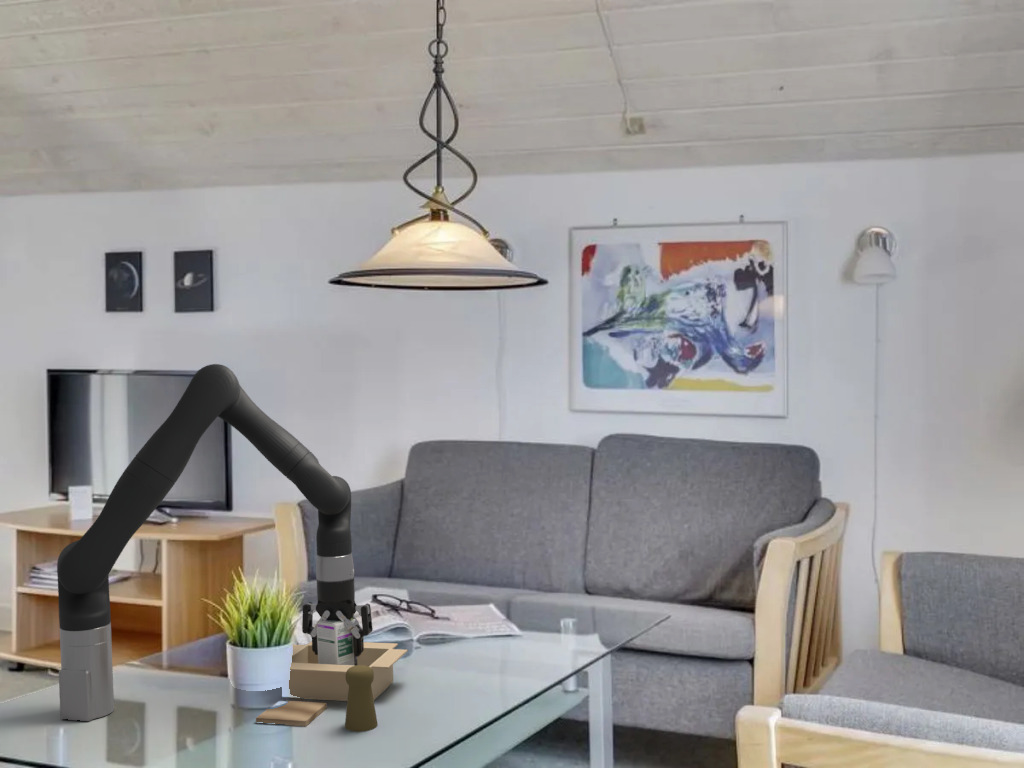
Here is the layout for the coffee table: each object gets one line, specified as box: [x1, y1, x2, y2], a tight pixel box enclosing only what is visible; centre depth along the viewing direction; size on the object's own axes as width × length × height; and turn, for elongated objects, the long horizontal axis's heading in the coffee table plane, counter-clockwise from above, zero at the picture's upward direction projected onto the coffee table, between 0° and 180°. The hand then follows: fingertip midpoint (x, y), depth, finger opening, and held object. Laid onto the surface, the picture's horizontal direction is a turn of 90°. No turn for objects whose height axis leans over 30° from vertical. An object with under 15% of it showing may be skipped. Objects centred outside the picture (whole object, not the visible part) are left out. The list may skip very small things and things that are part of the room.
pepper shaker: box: [344, 665, 378, 733], centre depth 202 cm, size 6×6×11 cm
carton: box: [289, 640, 409, 702], centre depth 223 cm, size 26×20×7 cm
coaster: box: [255, 700, 328, 727], centre depth 208 cm, size 10×10×1 cm
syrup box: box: [315, 618, 357, 666], centre depth 223 cm, size 6×6×14 cm
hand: (338, 654), depth 223 cm, fingers open, 8 cm apart
